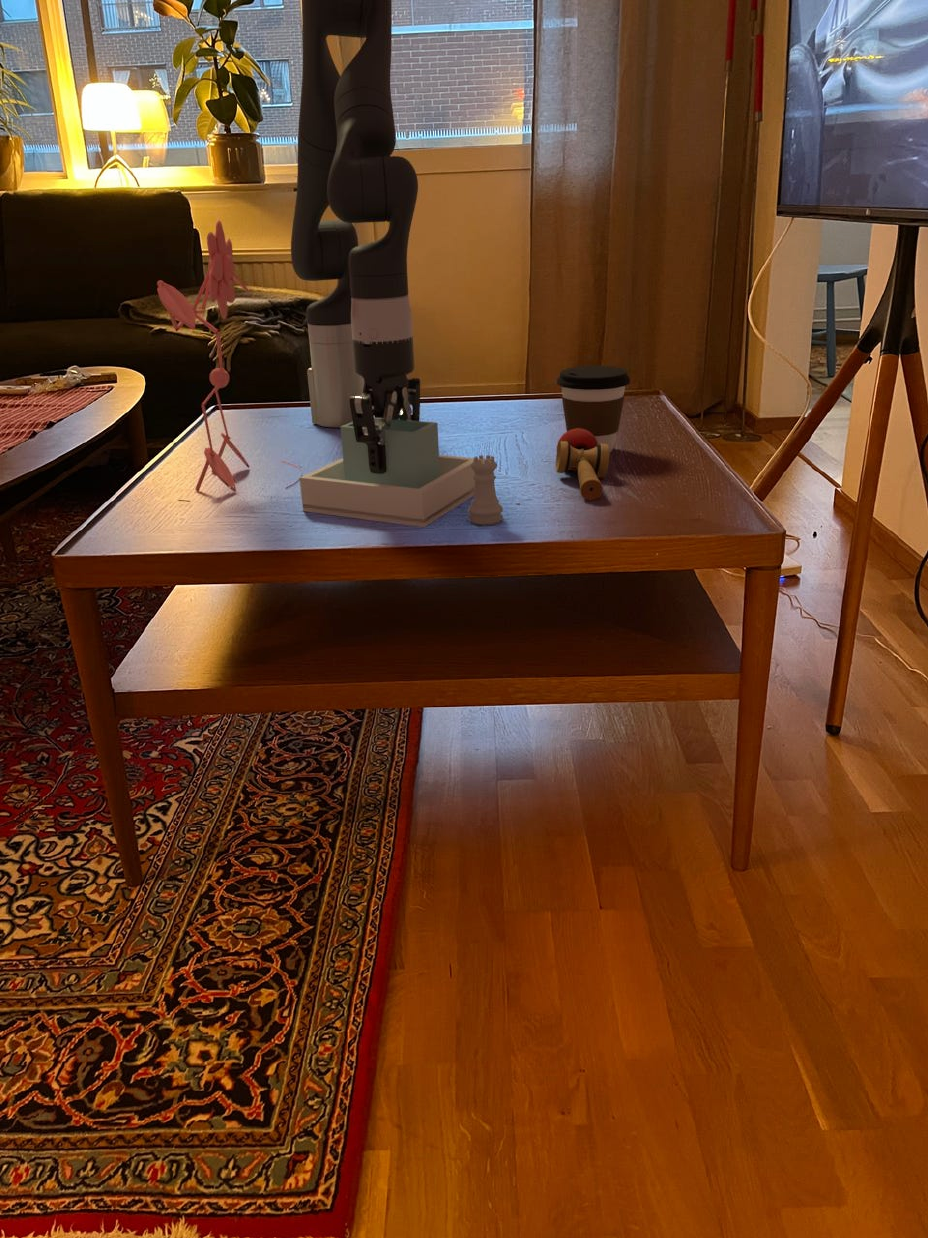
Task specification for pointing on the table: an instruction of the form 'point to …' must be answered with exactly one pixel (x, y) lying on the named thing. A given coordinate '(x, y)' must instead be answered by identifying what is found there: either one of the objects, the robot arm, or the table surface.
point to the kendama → (583, 460)
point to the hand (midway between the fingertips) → (391, 465)
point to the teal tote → (395, 454)
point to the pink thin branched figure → (182, 310)
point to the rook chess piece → (484, 493)
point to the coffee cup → (594, 400)
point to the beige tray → (388, 494)
